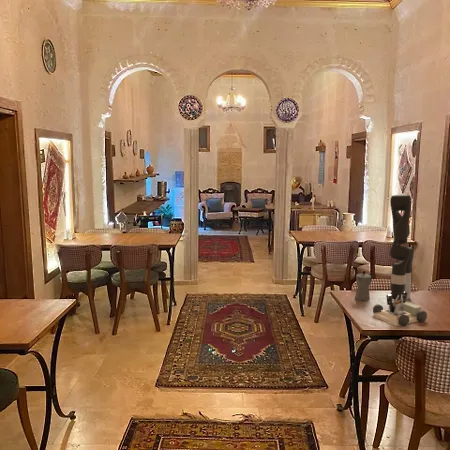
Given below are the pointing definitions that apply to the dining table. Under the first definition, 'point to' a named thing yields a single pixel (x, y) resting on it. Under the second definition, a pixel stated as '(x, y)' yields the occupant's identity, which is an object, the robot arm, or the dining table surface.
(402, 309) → the cube with copper knob
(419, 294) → the dining table surface
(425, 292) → the dining table surface
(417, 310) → the chassis
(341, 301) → the dining table surface
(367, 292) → the coffeepot
